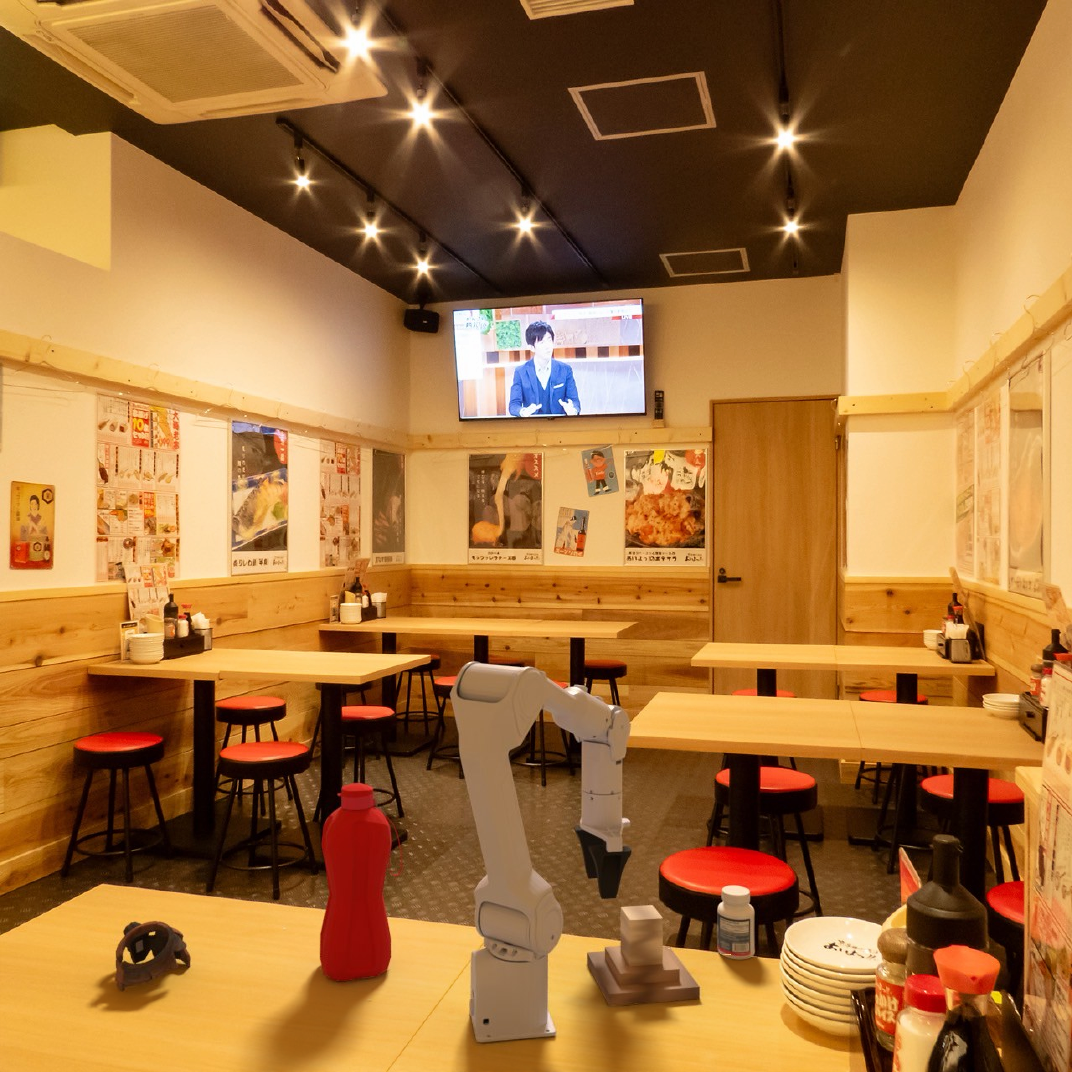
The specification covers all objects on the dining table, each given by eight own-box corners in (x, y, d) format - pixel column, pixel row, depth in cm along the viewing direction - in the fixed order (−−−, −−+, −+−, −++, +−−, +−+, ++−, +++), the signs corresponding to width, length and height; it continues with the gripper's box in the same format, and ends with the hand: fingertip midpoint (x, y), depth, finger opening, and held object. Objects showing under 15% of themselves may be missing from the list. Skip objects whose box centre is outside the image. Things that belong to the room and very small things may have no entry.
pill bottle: (727, 941, 131) (728, 880, 131) (760, 951, 127) (760, 889, 128) (710, 953, 127) (710, 890, 127) (744, 964, 123) (744, 899, 124)
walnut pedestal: (609, 1006, 111) (609, 982, 111) (587, 963, 123) (587, 941, 123) (699, 998, 114) (699, 975, 114) (669, 957, 125) (669, 935, 125)
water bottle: (407, 975, 119) (409, 789, 120) (324, 988, 115) (327, 796, 116) (394, 947, 128) (396, 773, 129) (316, 958, 124) (319, 779, 125)
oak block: (629, 966, 116) (629, 920, 116) (620, 951, 120) (620, 907, 120) (662, 964, 117) (662, 918, 117) (652, 949, 121) (652, 904, 121)
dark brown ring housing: (210, 973, 121) (195, 933, 117) (148, 1028, 114) (130, 988, 110) (159, 930, 127) (144, 891, 123) (98, 980, 121) (80, 941, 117)
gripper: (644, 802, 118) (644, 905, 117) (615, 776, 132) (615, 867, 132) (593, 804, 117) (592, 908, 116) (569, 777, 131) (569, 870, 130)
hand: (601, 887), depth 124 cm, fingers open, 7 cm apart
